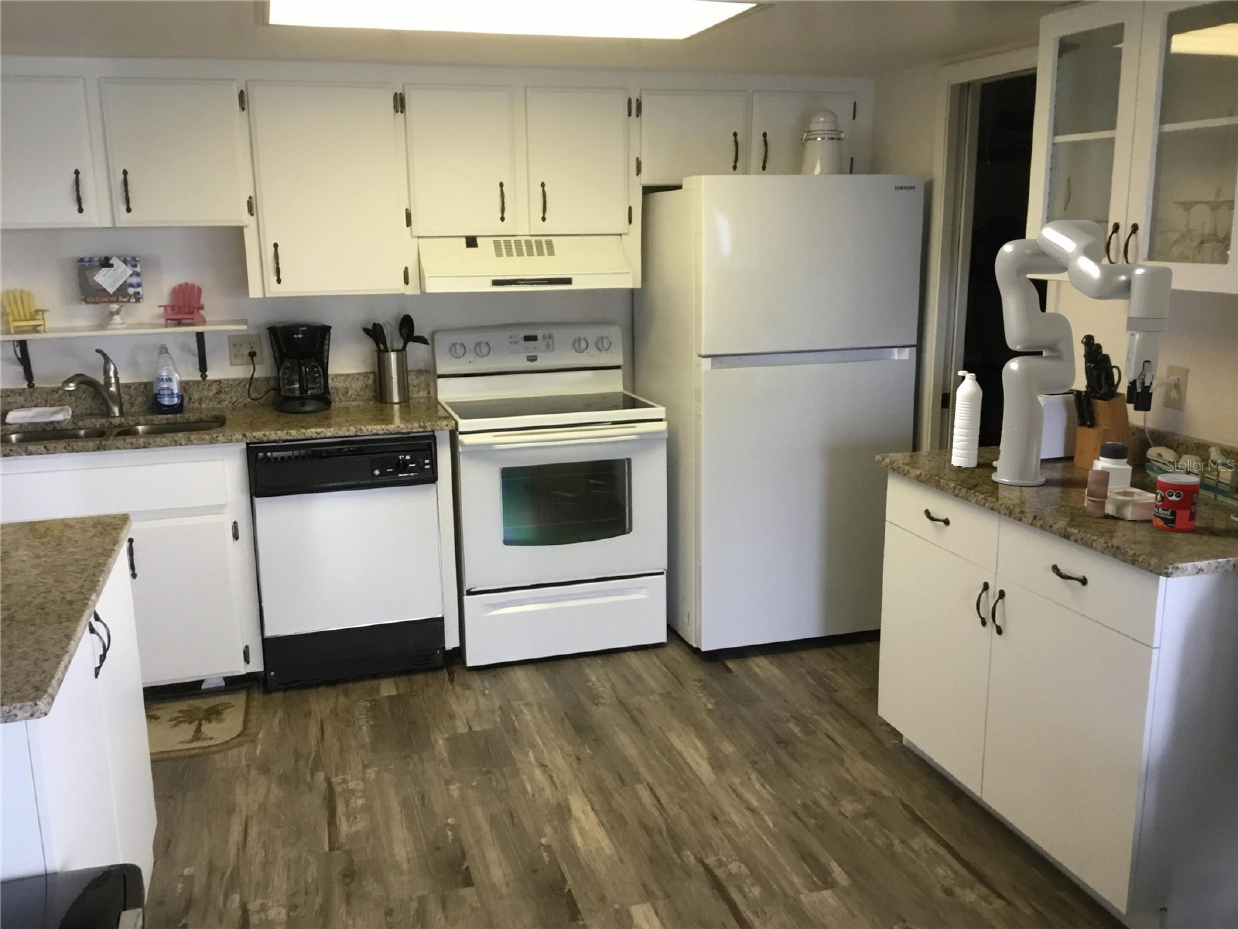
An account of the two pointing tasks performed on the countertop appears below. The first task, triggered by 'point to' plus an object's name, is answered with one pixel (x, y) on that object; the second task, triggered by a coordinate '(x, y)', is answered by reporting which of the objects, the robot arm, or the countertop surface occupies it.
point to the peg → (1097, 493)
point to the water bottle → (967, 422)
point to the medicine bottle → (1114, 463)
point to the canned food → (1176, 502)
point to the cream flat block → (1129, 503)
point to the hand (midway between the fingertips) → (1137, 407)
